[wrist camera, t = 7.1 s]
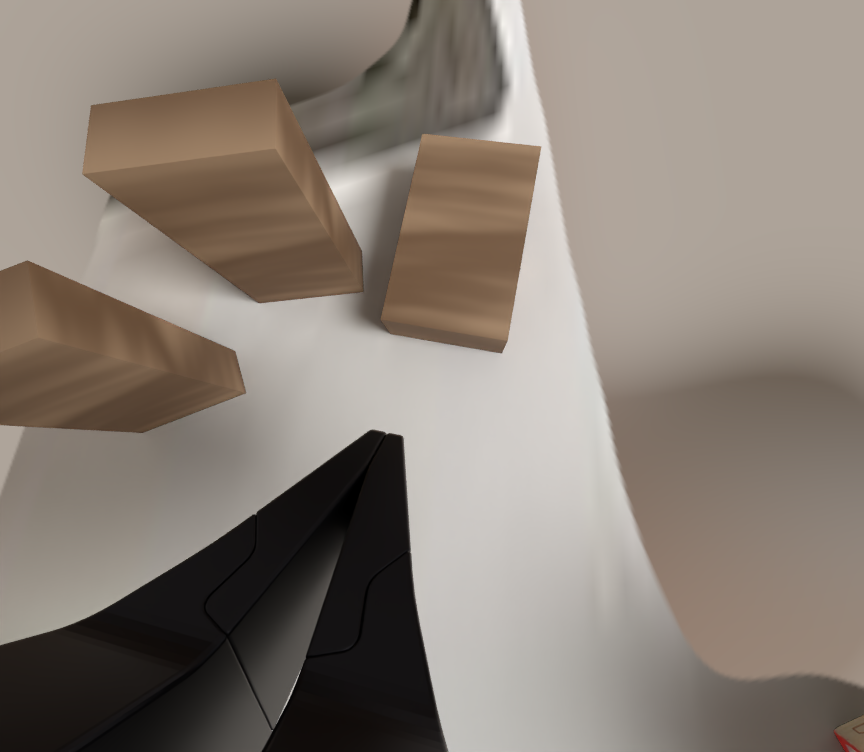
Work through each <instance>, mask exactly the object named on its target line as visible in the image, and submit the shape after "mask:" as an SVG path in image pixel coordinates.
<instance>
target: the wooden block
mask: <svg viewBox="0 0 864 752" xmlns="http://www.w3.org/2000/svg"><path fill="white" fill-rule="evenodd" d="M540 150H541V147H540V146H531V145H522V144H512V143H503V142H494V141H485V140H475V139H466V138H457V137H448V136H438V135H429V134H422V138H421V142H420V147H419V151H418V156H417V160H416V164H415V169H414V173H413V178H412V182H411V187H410V191H409V195H408V200H407V204H406V209H405V213H404V217H403V222H402V226H401V231H400V235H399V240H398V244H397V248H396V253H395V257H394V262H393V266H392V270H391V275H390V279H389V284H388V288H387V293H386V297H385V301H384V306H383V310H382V315H381V319H380V320H381V321H382V323H383V324H384V325H385V327H386V328H387V330H388V331H389V332H390V334H394V335H400V336H405V337H411V338H417V339H423V340H428V341H434V342H440V343H446V344H452V345H457V346H463V347H469V348H475V349H480V350H486V351H492V352H498V353H502V352H503V350H504V347H505V345H506V343H507V340H508V335H509V329H510V323H511V317H512V312H513V306H514V300H515V294H516V289H517V283H518V277H519V271H520V266H521V260H522V254H523V248H524V243H525V237H526V231H527V225H528V220H529V214H530V208H531V202H532V197H533V191H534V185H535V179H536V174H537V168H538V162H539V156H540Z"/></svg>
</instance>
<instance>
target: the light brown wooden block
mask: <svg viewBox="0 0 864 752" xmlns="http://www.w3.org/2000/svg"><path fill="white" fill-rule="evenodd" d="M82 174H83V175H84V176H85V177H87V178H88V179H90V180H91V181H93V182H94V183H95V184H96V185H98V186H99V187H101V188H102V189H103V190H105V191H106V192H107V193H109V194H110V195H112V196H113V197H114V198H116V199H117V200H118V201H120V202H121V203H123V204H124V205H125V206H127V207H128V208H129V209H131V210H132V211H134V212H135V213H136V214H138V215H139V216H140V217H142V218H143V219H145V220H146V221H147V222H149V223H150V224H151V225H153V226H154V227H156V228H157V229H158V230H160V231H161V232H162V233H164V234H165V235H166V236H168V237H169V238H171V239H172V240H173V241H175V242H176V243H177V244H179V245H180V246H182V247H183V248H184V249H186V250H187V251H188V252H190V253H191V254H193V255H194V256H195V257H197V258H198V259H199V260H201V261H202V262H204V263H205V264H206V265H208V266H209V267H210V268H212V269H213V270H215V271H216V272H217V273H219V274H220V275H221V276H223V277H224V278H226V279H227V280H228V281H230V282H231V283H232V284H234V285H235V286H236V287H238V288H239V289H241V290H242V291H243V292H245V293H246V294H247V295H249V296H250V297H252V298H253V299H254V300H256V301H257V302H258V303H266V302H275V301H285V300H294V299H303V298H312V297H322V296H331V295H340V294H350V293H359V292H364V289H363V266H362V251H361V249H360V247H359V244H358V242H357V240H356V238H355V236H354V234H353V232H352V230H351V228H350V226H349V224H348V222H347V220H346V218H345V216H344V214H343V212H342V210H341V208H340V206H339V204H338V202H337V200H336V198H335V196H334V194H333V192H332V190H331V188H330V186H329V184H328V182H327V180H326V178H325V176H324V174H323V172H322V170H321V168H320V166H319V164H318V162H317V160H316V158H315V156H314V154H313V152H312V150H311V148H310V146H309V144H308V142H307V140H306V138H305V136H304V134H303V132H302V130H301V128H300V126H299V124H298V122H297V120H296V118H295V116H294V114H293V112H292V110H291V108H290V106H289V104H288V102H287V100H286V98H285V96H284V94H283V92H282V90H281V88H280V86H279V84H278V82H277V80H276V79H270V80H263V81H257V82H249V83H242V84H236V85H229V86H222V87H215V88H208V89H201V90H195V91H187V92H180V93H173V94H166V95H160V96H153V97H146V98H139V99H132V100H125V101H118V102H111V103H104V104H97V105H92V106H91V111H90V118H89V126H88V134H87V141H86V150H85V157H84V165H83V173H82Z"/></svg>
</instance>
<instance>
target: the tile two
mask: <svg viewBox="0 0 864 752" xmlns="http://www.w3.org/2000/svg"><path fill="white" fill-rule="evenodd" d="M245 393H246V391H245V387H244V383H243V379H242V375H241V372H240V368H239V364H238V360H237V356H236V353H235V351H233V350H231V349H229V348H227V347H224V346H222V345H220V344H217V343H215V342H213V341H211V340H208V339H206V338H204V337H201V336H199V335H197V334H194V333H192V332H190V331H188V330H185V329H183V328H181V327H178V326H176V325H174V324H172V323H169V322H167V321H165V320H162V319H160V318H158V317H156V316H153V315H151V314H149V313H146V312H144V311H142V310H140V309H137V308H135V307H133V306H130V305H128V304H126V303H124V302H121V301H119V300H117V299H114V298H112V297H110V296H108V295H105V294H103V293H101V292H98V291H96V290H94V289H91V288H89V287H87V286H85V285H82V284H80V283H78V282H75V281H73V280H71V279H68V278H66V277H64V276H62V275H59V274H57V273H55V272H53V271H50V270H48V269H46V268H43V267H41V266H39V265H36V264H34V263H32V262H30V261H25V262H22V263H20V264H17V265H14V266H12V267H9V268H7V269H4V270H2V271H0V425H9V426H27V427H45V428H64V429H82V430H101V431H119V432H137V433H143V432H146V431H148V430H151V429H154V428H156V427H159V426H161V425H164V424H167V423H169V422H172V421H174V420H177V419H180V418H182V417H185V416H187V415H190V414H193V413H195V412H198V411H200V410H203V409H206V408H208V407H211V406H213V405H216V404H219V403H221V402H224V401H226V400H229V399H232V398H234V397H237V396H239V395H242V394H245Z"/></svg>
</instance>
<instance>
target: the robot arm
mask: <svg viewBox="0 0 864 752" xmlns="http://www.w3.org/2000/svg"><path fill="white" fill-rule="evenodd" d="M410 552H411V545H410V530H409V515H408V499H407V484H406V469H405V453H404V439H403V436H401V435H397V434H392V433H388V434H386V433H385V432H382V431H377V430H370V431H368V432H367V433H365V434H364V435H363V436H361V437H360V438H358V439H357V440H356V441H354V442H353V443H351V444H350V445H349V446H347V447H346V448H345V449H343V450H342V451H340V452H339V453H338V454H336V455H335V456H334V457H332V458H331V459H329V460H328V461H327V462H325V463H324V464H322V465H321V466H320V467H318V468H317V469H316V470H314V471H313V472H311V473H310V474H309V475H307V476H306V477H305V478H303V479H302V480H300V481H299V482H298V483H296V484H295V485H294V486H292V487H291V488H289V489H288V490H287V491H285V492H284V493H282V494H281V495H280V496H278V497H277V498H276V499H274V500H273V501H271V502H270V503H269V504H267V505H266V506H265V507H263V508H262V509H260V510H259V511H258V512H257V513H256V515H255V514H254V515H252V516H250V517H249V518H248V519H246V520H245V521H244V522H242V523H241V524H239V525H238V526H237V527H235V528H234V529H232V530H231V531H229V532H228V533H226V534H225V535H224V536H222V537H221V538H219V539H218V540H216V541H215V542H213V543H212V544H210V545H209V546H207V547H205V548H204V549H202V550H201V551H199V552H198V553H196V554H194V555H193V556H191V557H190V558H188V559H186V560H185V561H183V562H182V563H180V564H178V565H177V566H175V567H173V568H172V569H170V570H168V571H167V572H165V573H163V574H162V575H160V576H158V577H157V578H155V579H154V580H152V581H150V582H149V583H147V584H145V585H144V586H142V587H140V588H139V589H137V590H135V591H134V592H132V593H130V594H129V595H127V596H126V597H124V598H122V599H121V600H119V601H117V602H116V603H114V604H112V605H110V606H109V607H107V608H105V609H103V610H101V611H100V612H98V613H96V614H94V615H92V616H90V617H87V618H85V619H83V620H81V621H78V622H76V623H74V624H71V625H68V626H66V627H63V628H60V629H57V630H54V631H50V632H47V633H43V634H39V635H36V636H32V637H29V638H25V639H21V640H18V641H14V642H10V643H7V644H3V645H0V752H448V749H447V745H446V742H445V738H444V735H443V731H442V727H441V723H440V719H439V714H438V710H437V706H436V701H435V696H434V691H433V686H432V682H431V677H430V672H429V667H428V662H427V657H426V652H425V647H424V642H423V637H422V632H421V627H420V622H419V617H418V611H417V605H416V599H415V592H414V582H413V572H412V558H411V553H410ZM305 658H306V659H305ZM302 665H303V666H302ZM301 667H302V669H301ZM300 670H301V672H300ZM299 672H300V674H299ZM298 674H299V677H298V680H297V682H296V685H295V687H294V690H293V692H292V694H291V697H290V699H289V701H288V703H287V705H286V707H285V709H284V711H283V713H282V715H281V716H280V714H281V712H282V710H283V707H284V705H285V703H286V701H287V698H288V696H289V694H290V692H291V690H292V687H293V685H294V683H295V681H296V678H297V676H298ZM279 716H280V718H279ZM278 718H279V720H278ZM277 721H278V722H277ZM276 723H277V724H276ZM275 725H276V726H275ZM271 730H273V731H271Z"/></svg>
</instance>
